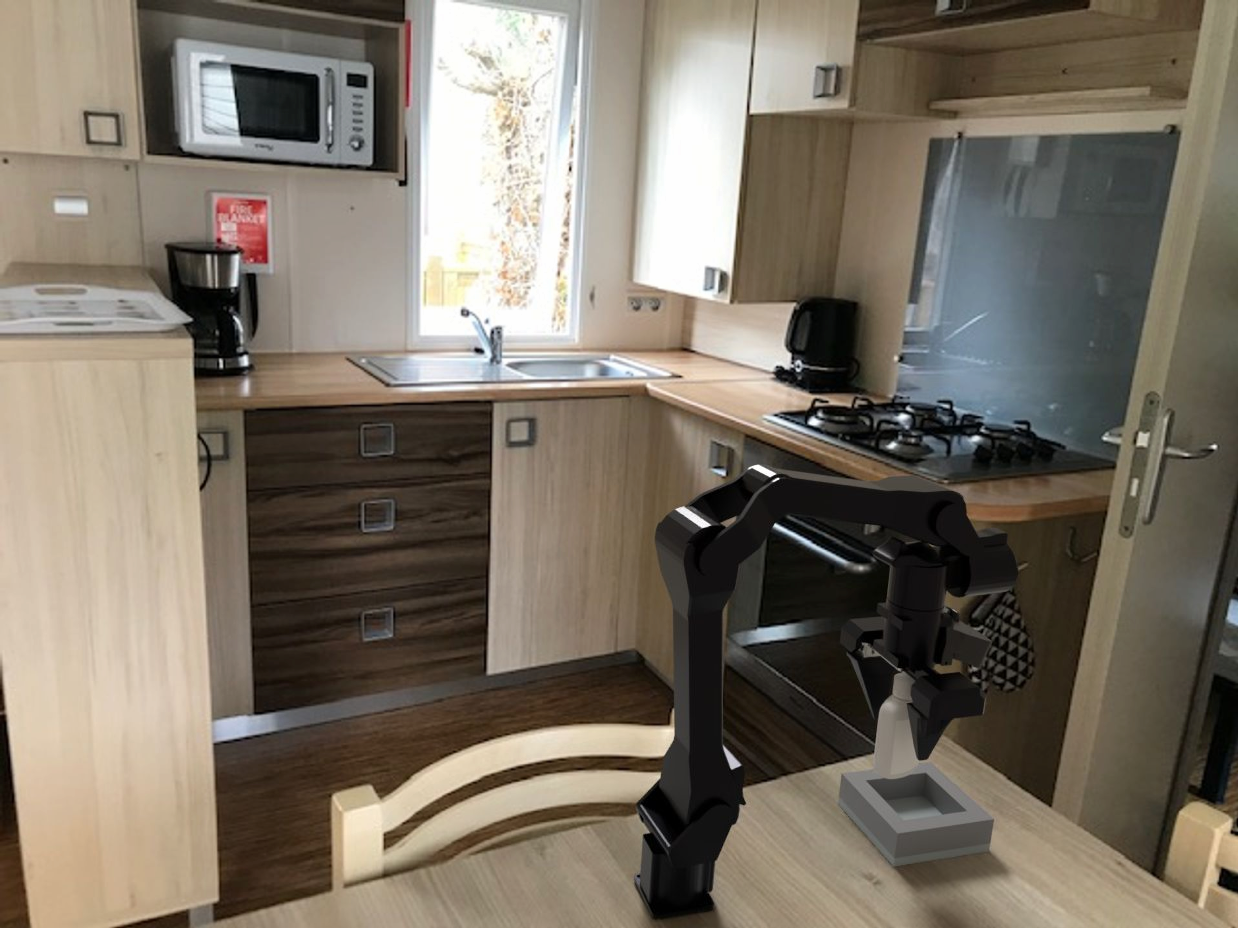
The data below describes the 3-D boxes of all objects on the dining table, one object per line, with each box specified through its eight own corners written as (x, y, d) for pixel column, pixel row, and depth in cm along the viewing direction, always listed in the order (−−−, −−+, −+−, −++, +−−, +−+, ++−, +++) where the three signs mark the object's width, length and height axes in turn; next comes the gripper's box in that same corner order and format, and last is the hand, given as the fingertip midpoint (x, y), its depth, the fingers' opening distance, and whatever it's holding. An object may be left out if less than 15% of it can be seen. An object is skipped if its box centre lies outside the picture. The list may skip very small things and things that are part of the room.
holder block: (893, 866, 108) (897, 833, 107) (838, 803, 119) (841, 773, 118) (989, 851, 111) (994, 818, 110) (926, 791, 122) (930, 761, 121)
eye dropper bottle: (929, 778, 106) (942, 674, 104) (878, 781, 106) (890, 675, 103) (912, 756, 111) (924, 655, 108) (863, 759, 110) (874, 657, 107)
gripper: (1043, 630, 97) (1021, 776, 101) (932, 564, 114) (917, 690, 118) (941, 640, 94) (923, 790, 98) (844, 571, 111) (831, 700, 115)
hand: (899, 738), depth 107 cm, fingers closed on eye dropper bottle, 8 cm apart
